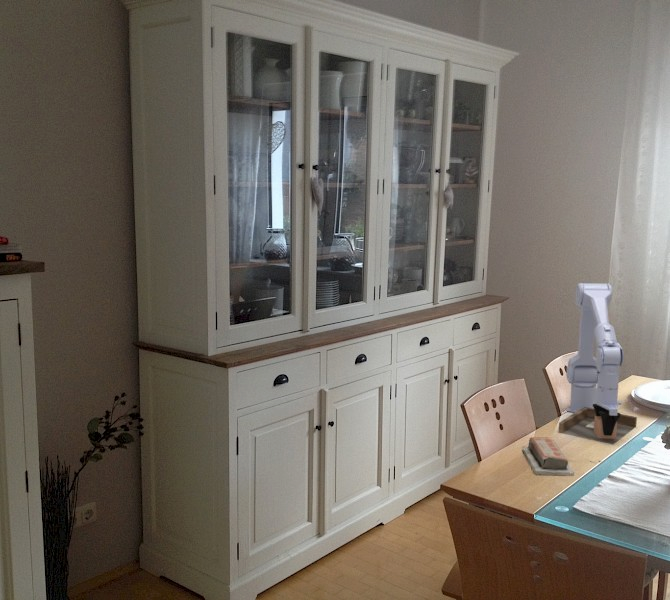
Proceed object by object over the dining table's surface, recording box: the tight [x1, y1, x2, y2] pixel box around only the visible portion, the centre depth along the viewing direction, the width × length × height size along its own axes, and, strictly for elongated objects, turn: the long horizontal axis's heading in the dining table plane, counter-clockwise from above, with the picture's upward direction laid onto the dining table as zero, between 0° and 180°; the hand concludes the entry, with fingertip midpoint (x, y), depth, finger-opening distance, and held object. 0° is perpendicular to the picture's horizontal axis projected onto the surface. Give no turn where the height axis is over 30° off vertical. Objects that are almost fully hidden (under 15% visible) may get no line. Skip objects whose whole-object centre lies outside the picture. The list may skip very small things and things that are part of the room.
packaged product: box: [521, 436, 575, 476], centre depth 196 cm, size 18×5×10 cm
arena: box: [558, 407, 638, 445], centre depth 219 cm, size 20×16×4 cm
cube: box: [594, 416, 617, 439], centre depth 213 cm, size 5×5×5 cm
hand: (604, 431), depth 213 cm, fingers closed on cube, 5 cm apart
